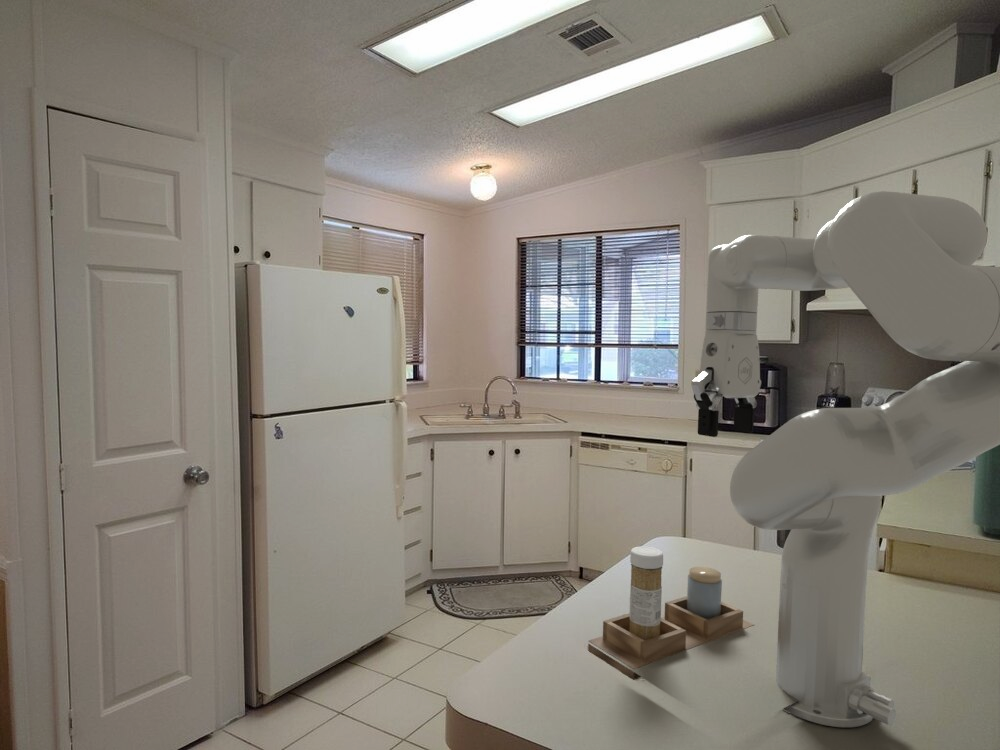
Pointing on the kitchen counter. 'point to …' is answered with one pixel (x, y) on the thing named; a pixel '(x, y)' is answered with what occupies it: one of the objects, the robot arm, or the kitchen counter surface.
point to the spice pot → (704, 592)
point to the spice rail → (663, 635)
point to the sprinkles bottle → (645, 592)
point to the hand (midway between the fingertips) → (725, 433)
